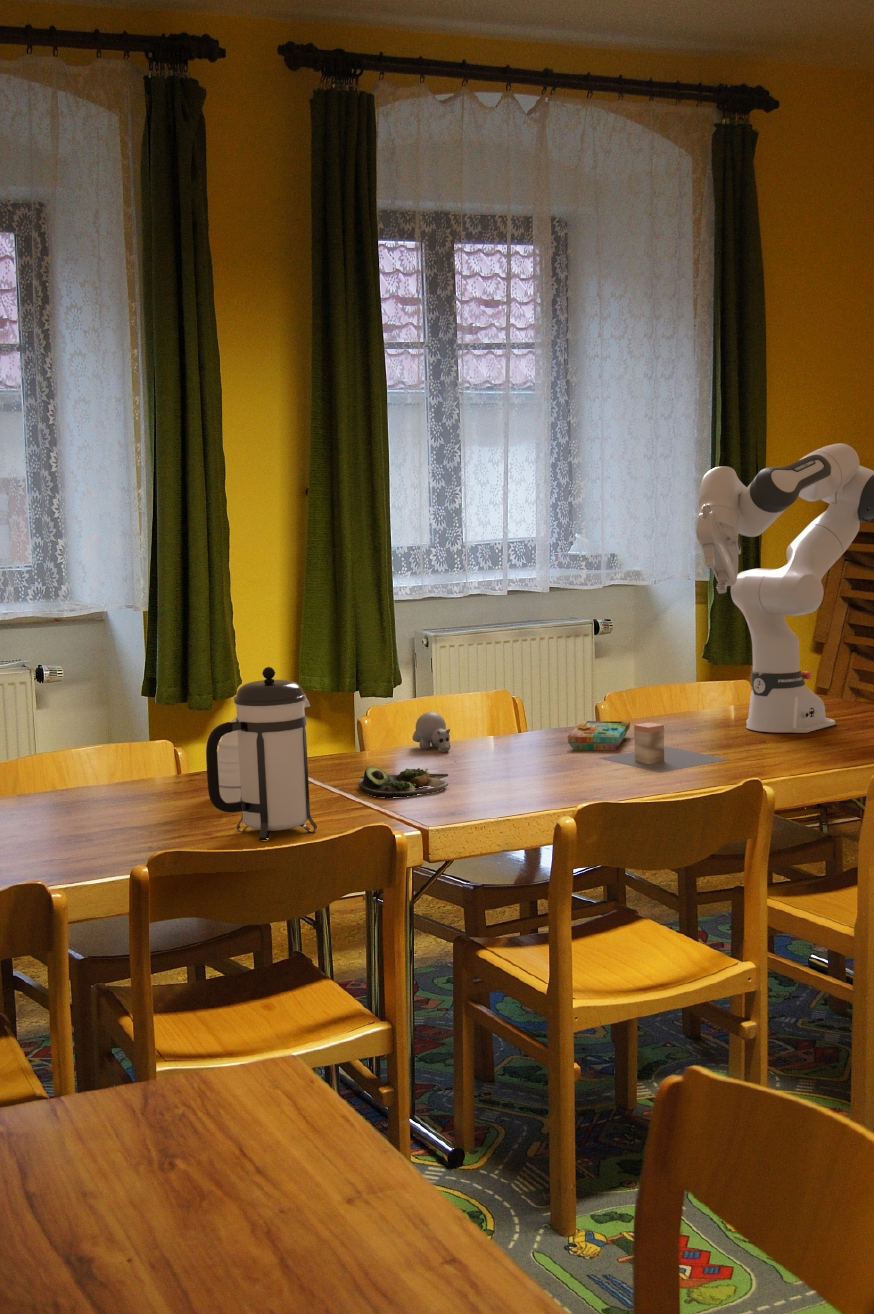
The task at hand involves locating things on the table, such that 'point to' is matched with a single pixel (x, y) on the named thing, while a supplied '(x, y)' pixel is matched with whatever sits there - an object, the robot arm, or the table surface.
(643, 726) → the birch block
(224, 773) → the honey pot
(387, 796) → the salad plate
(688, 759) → the felt mat
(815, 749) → the table surface
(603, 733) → the puzzle game
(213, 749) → the coffee press
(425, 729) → the round bodied animal figurine
